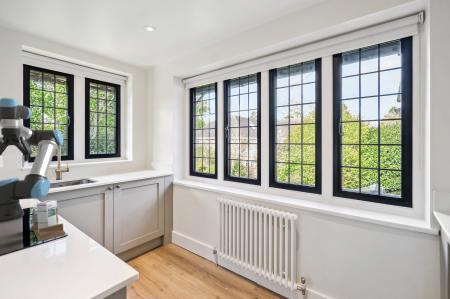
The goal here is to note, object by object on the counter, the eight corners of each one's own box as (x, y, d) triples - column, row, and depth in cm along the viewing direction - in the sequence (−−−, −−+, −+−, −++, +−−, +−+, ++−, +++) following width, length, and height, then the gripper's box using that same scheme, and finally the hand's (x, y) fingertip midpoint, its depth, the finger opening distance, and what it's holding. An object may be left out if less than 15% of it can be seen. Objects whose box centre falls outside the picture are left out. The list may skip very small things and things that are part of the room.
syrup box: (48, 233, 111) (47, 203, 110) (37, 233, 112) (36, 203, 111) (58, 229, 117) (57, 200, 116) (48, 228, 117) (47, 199, 117)
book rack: (32, 229, 121) (31, 211, 121) (55, 224, 128) (54, 207, 128) (38, 241, 105) (37, 220, 105) (65, 235, 113) (64, 215, 112)
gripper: (-20, 127, 121) (-18, 168, 122) (27, 127, 121) (29, 167, 122) (-6, 128, 129) (-4, 167, 129) (39, 127, 128) (41, 166, 129)
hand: (12, 167), depth 125 cm, fingers open, 13 cm apart
